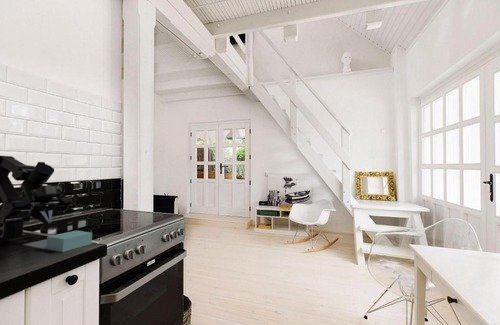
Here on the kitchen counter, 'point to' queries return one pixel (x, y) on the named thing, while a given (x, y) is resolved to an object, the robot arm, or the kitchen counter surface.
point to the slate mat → (39, 244)
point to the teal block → (69, 240)
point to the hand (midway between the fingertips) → (49, 224)
